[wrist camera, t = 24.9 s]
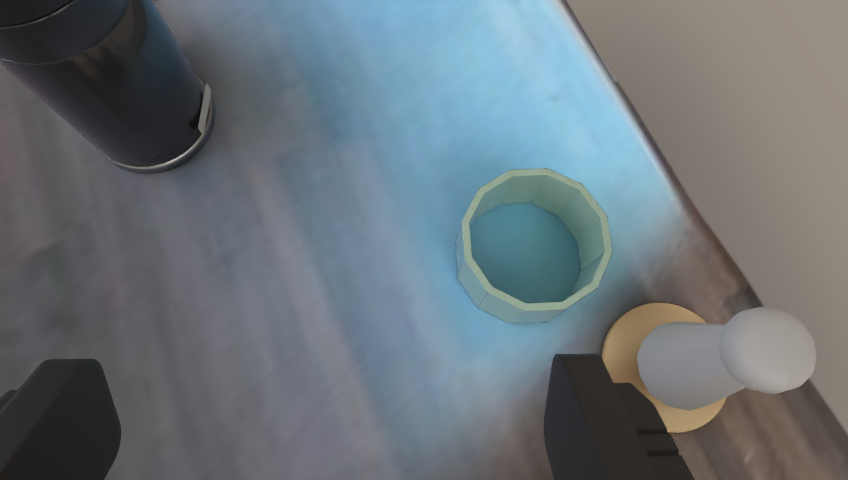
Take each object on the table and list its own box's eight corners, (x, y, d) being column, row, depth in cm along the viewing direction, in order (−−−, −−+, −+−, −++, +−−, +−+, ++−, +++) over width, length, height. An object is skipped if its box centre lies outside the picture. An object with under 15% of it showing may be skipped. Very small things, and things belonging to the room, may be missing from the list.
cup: (431, 239, 43) (434, 215, 38) (535, 176, 45) (552, 144, 40) (505, 349, 41) (520, 339, 36) (612, 278, 43) (640, 258, 38)
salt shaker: (610, 374, 40) (701, 355, 28) (651, 310, 42) (756, 265, 29) (682, 428, 39) (809, 433, 27) (722, 361, 41) (860, 336, 28)
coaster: (576, 347, 41) (578, 346, 41) (671, 281, 43) (674, 279, 42) (655, 458, 39) (659, 459, 39) (752, 385, 41) (757, 385, 40)
